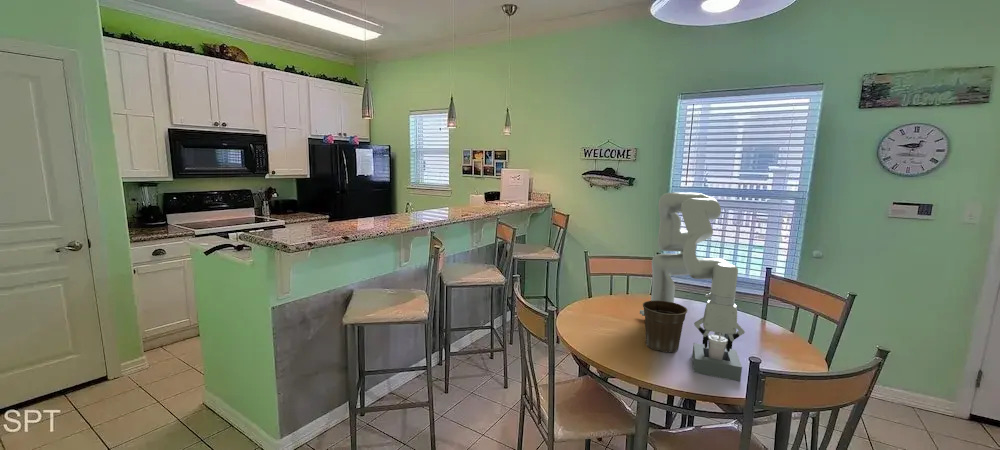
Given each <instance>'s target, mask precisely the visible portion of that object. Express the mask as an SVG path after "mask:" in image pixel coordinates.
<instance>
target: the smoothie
mask: <svg viewBox="0 0 1000 450" xmlns="http://www.w3.org/2000/svg"><path fill="white" fill-rule="evenodd" d="M726 344H728V340H727V339H726V338H725V337H723V336H721V333H719V335H714V334H708V346H709V358H714V359H719V360H722V359H723V355H724V351H725V348H726Z"/></svg>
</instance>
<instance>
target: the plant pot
mask: <svg viewBox="0 0 1000 450" xmlns="http://www.w3.org/2000/svg"><path fill="white" fill-rule="evenodd" d="M642 307H643V310H644V315H645V316H644V324H645V325H644V326H645V327H644V331H645V333H644V334H645V345H646V347H648V348H650V349H652V350H654V351H660V352H661V353H674V352H677V351H678V350H679V348H680V342H681V336H682V331H683V325H684V323H685V319H686V314H687V313H688V308H687V307H685V306H684V305H682V304H681V303H680V304H679V303H677V302H674V303H673V302H668V301H658V300H654V301H651V300H647V301H644V302H643V303H642Z"/></svg>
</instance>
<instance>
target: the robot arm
mask: <svg viewBox="0 0 1000 450" xmlns="http://www.w3.org/2000/svg"><path fill="white" fill-rule="evenodd" d="M658 200H659V201H658V206H657V209H658V214H659V225H658V226H659V227H658V235H657V247H658V249H660V250H661V251H662V252H663V251H664V252H680V253H657V254H656V255H653V257H652V259H651V270H652V285H651V297H650V301H654V300H658V301H668V302H673V303H675V294H676V293H675V291H676V285H675V282H674V281H673V279H672V277H671V276H688V275H689V277H690V278H692V279H694V280H711V286H710V293H705V296H704V297H705V299H706V298H707V299H708V300H707V302H706V304H705V308H704V312H703V316H702V317H701V318H700V319H698V320H695V322H694V326H695V328H696V329H697V330H698V331H699V332H700V333H701V335H702V344H703V345H704V346H705V348H707V345H708V336H709V333H710V332H712V333H715V332H718V333H724V334H728V335H729V337H728V338H727V340H728V344H727V345H726V349H727V351H728V352H729V351H730V349H732V348H733V342H734V341H735V340H736V339H738V338H740V336H742V335H744V334H745V330H744V328H743V327H742V326H741V325H740V324H739V323H738V307H737V305H736V302H735V301H736V300H735V299H736V291H737V283H738V276H739V268H738V267H737V266H736V265H735V264H732V263H729V262H728V261H727V260H725V259H723V258H712V257H703V258H702V257H697V254H696V251H697V245H698V244H700V243H701V242H704V241H706V240H708V239H710V238H711V237H712V236H713V234H714V230H713V227H712V224H711V221H714V220H717V219H718V218H719V217H720V216H721V214H722V213H721V212H722V211H721V210H722V208H721V204H720V203H719V202H718V200H717V199H716V198H714V197H711V196H709V195H706V194H704V193H701V192H679V191H678V192H674V191H672V192H665V193H663V195H660V197H659V199H658ZM679 213H681V215H682V219H683V222H684V225H685V228H686V229H681V226H682V220H681V217H680V215H679ZM639 314H640V315H641V316H643V317H645V315H644V309H639ZM702 324H703V325H702ZM701 325H702V326H701ZM708 346H709V345H708ZM732 350H733V349H732Z"/></svg>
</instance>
